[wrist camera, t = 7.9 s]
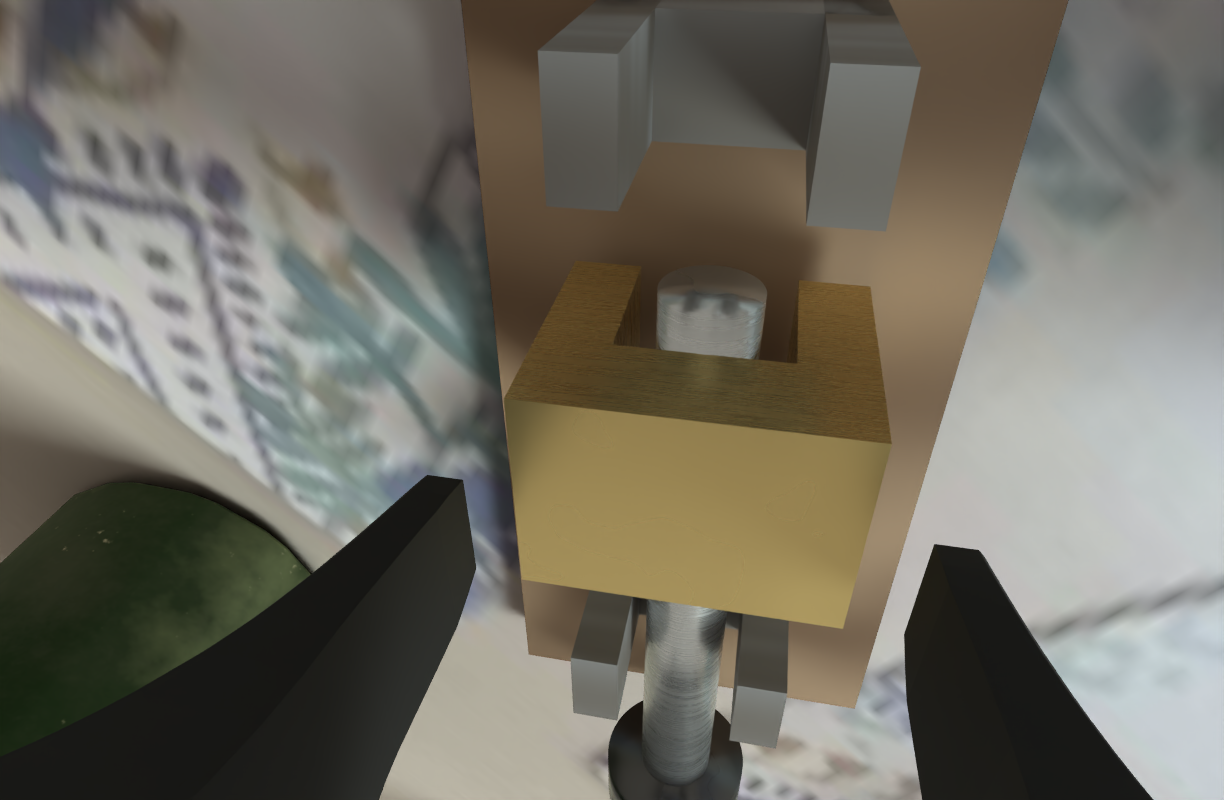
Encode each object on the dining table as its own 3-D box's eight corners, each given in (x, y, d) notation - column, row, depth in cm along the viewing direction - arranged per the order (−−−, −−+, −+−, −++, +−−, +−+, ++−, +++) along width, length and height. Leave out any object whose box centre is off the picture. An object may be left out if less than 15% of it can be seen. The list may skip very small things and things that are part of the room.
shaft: (624, 235, 15) (582, 334, 12) (821, 251, 14) (825, 359, 11) (621, 714, 24) (596, 835, 21) (741, 735, 23) (733, 863, 21)
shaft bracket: (448, -401, 12) (214, -549, 7) (1172, -437, 10) (1481, -658, 6) (538, 624, 26) (479, 802, 21) (852, 674, 25) (864, 879, 20)
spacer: (575, 260, 16) (503, 398, 12) (869, 286, 15) (892, 444, 11) (580, 422, 18) (522, 579, 14) (834, 452, 17) (842, 629, 13)
